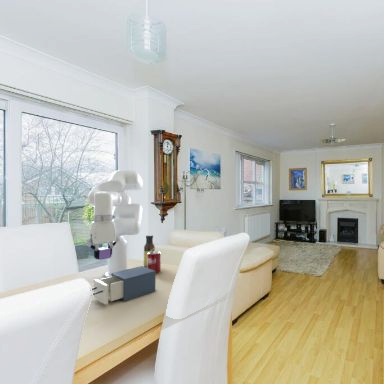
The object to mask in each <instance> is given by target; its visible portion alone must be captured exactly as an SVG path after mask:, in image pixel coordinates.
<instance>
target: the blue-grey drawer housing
mask: <svg viewBox="0 0 384 384" xmlns="http://www.w3.org/2000/svg"><path fill="white" fill-rule="evenodd" d="M111 276H115V277H117V278H119V279H122V280H124V297H123V298H120V299H119V300H122V301H123V302H126V301H129V300H132V299H135V298H139V297H141V296H144V295H147V294H151V293H154V292H156V275H155V271H154V270H151V269H149V268H146V267H144V265H140V266H135V267H132V268H127V270H123V271H118V272H114V273H111Z"/></svg>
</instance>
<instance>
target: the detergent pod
mask: <svg viewBox="0 0 384 384" xmlns="http://www.w3.org/2000/svg"><path fill="white" fill-rule="evenodd" d="M98 250H99V259H98V261H101V260H108V258H110V248H108V246H104V247H99V248H98Z"/></svg>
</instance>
